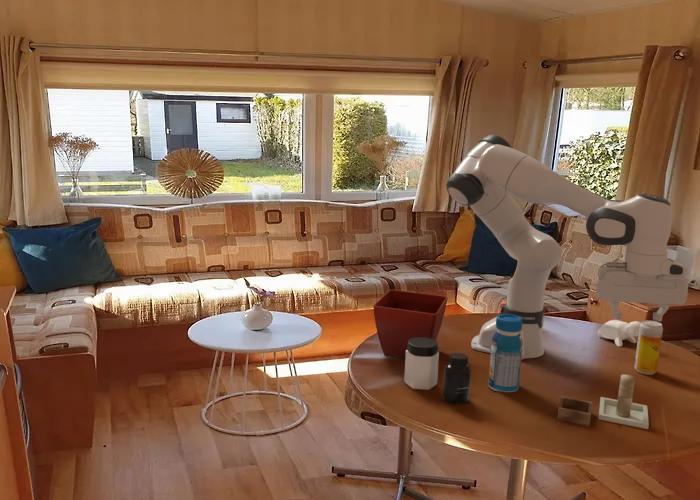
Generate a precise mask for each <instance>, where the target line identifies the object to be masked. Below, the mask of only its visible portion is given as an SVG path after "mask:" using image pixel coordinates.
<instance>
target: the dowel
mask: <svg viewBox="0 0 700 500" xmlns="http://www.w3.org/2000/svg"><path fill="white" fill-rule="evenodd" d="M635 381H636V377H635V376H633V375H631V374H626V373H625V374H621V375H620V379H619V386H618V387H619V388H618V395H617V400H618V402H617V409H616V414H617V415H618V416H620V417H624V418H628V417H630V412H631V405H632V403H633V398H634V397H633V395H634V389H635Z"/></svg>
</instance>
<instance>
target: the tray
mask: <svg viewBox="0 0 700 500" xmlns="http://www.w3.org/2000/svg"><path fill="white" fill-rule="evenodd" d="M617 402H618V399H613V398H610V397H605V396H604V397H603V396H600V399H599V408H598V420H601V421H604V422H610V423H614V424H620V425H624V426H630V427H635V428H639V429H645V430H649V427H650V426H649V425H650V424H649V423H650V422H649V411H648V405H646V404H640V403H637V402H632V405H631V412H630V417H628V418H624V417H620V416H618V415H617V414H616V409H617Z"/></svg>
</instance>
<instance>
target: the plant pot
mask: <svg viewBox="0 0 700 500" xmlns="http://www.w3.org/2000/svg"><path fill="white" fill-rule="evenodd" d="M382 295H383V296H381V297H380V298H379V299H378V300H377V301H376V302H375V303H374V304H373V315H374V322H375V327H376V333H377V336H378V341H379V344H380V347H381V351H382V353H383V356H385V357H387V358H393V359H400V360H405V358H406V350H408V340H409V339H411V338H415V337H426V338H431V339H433V340H435V341H437V338H438V335H439V332H440V331H441V327H442V323H443V319H444V316H445V312H446V308H447V303H448V300H449V299H448V297H447V296H444V295H437V294H430V293H423V292H422V293H421V292H415V291H406V290H399V289H388V290H387V291H386V292H385V293H384V294H382Z"/></svg>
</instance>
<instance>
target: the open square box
mask: <svg viewBox="0 0 700 500" xmlns="http://www.w3.org/2000/svg"><path fill="white" fill-rule="evenodd" d="M592 409H593V402H592V401H589V400H583V399H578V398H572V397H568V396H562V395H561V396H560V400H559V405H558V409H557V418H556V420H557V421H558V420H559V421H564V422H567V423H568V422H569V423H573V424H577V425H583V426H587V427H590V426H591V418H592Z"/></svg>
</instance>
